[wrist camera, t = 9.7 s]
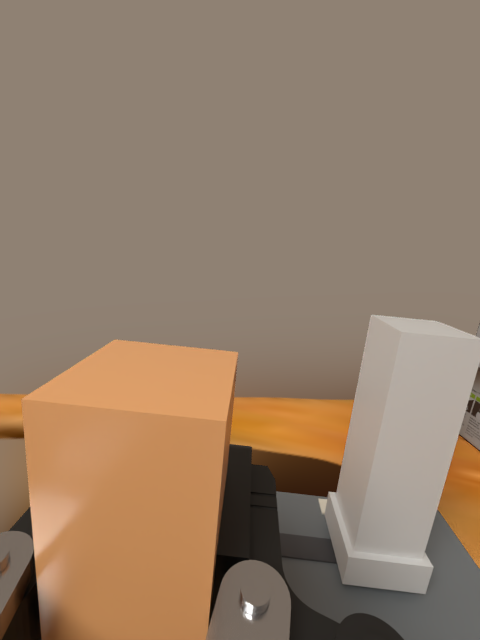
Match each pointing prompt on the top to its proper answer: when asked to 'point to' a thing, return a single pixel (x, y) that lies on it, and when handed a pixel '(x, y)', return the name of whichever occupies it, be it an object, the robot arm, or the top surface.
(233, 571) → the robot arm
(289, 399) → the top surface
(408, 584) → the tall white pillar
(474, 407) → the coffee box
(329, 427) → the top surface
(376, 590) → the switch board
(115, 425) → the orange pillar with base
